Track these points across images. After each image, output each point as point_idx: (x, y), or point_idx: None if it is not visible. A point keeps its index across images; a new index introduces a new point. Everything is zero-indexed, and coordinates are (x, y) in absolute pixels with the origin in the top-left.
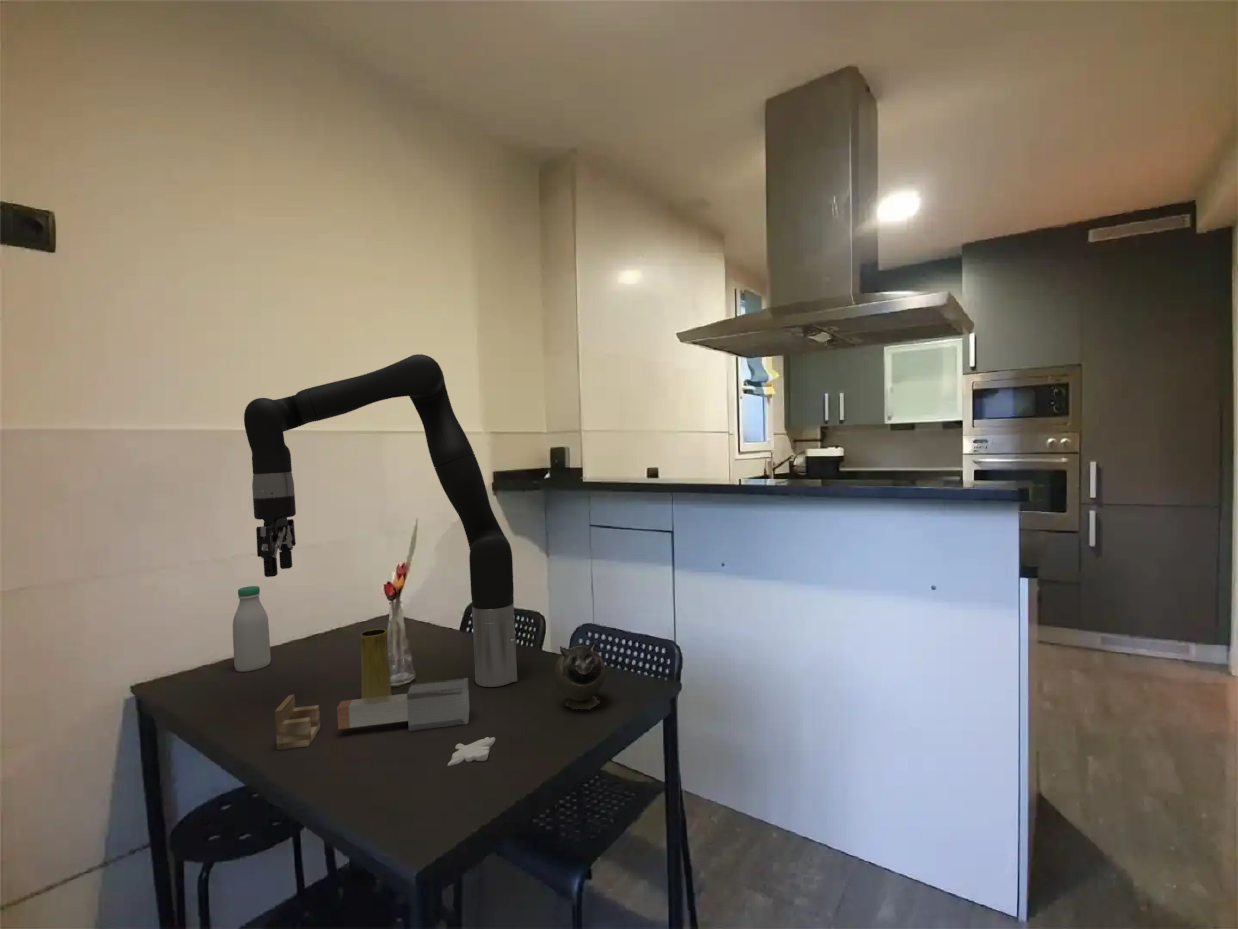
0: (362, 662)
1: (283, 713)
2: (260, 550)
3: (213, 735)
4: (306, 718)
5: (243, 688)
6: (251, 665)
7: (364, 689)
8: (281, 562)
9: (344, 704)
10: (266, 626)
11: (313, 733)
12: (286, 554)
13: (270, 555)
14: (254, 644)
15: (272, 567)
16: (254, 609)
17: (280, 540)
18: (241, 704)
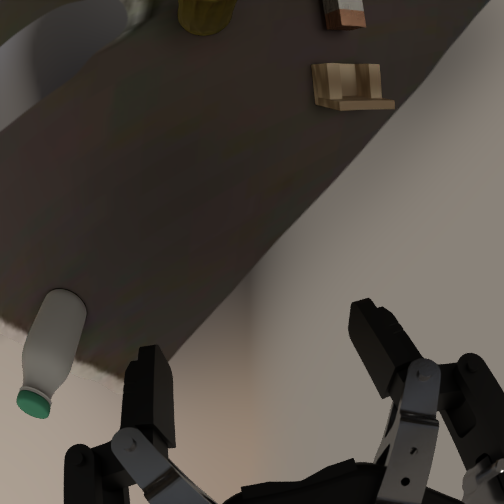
0: (229, 9)
1: (382, 99)
2: (465, 406)
3: (303, 211)
4: (371, 68)
5: (140, 271)
6: (79, 303)
7: (227, 19)
8: (169, 395)
9: (355, 18)
10: (38, 332)
11: (344, 64)
12: (162, 417)
13: (472, 356)
14: (66, 322)
15: (401, 327)
16: (43, 369)
17: (419, 455)
18: (200, 236)
